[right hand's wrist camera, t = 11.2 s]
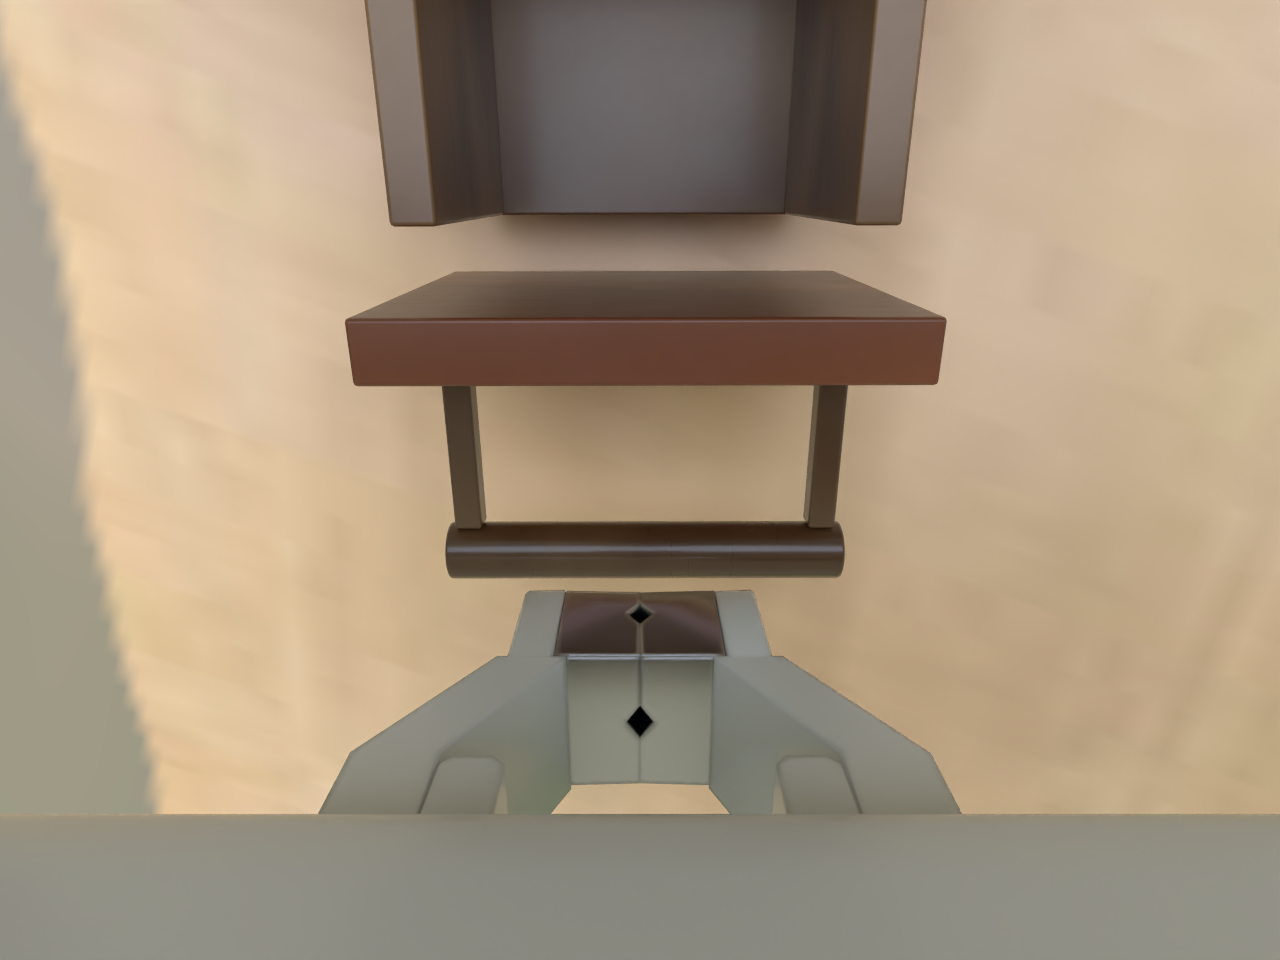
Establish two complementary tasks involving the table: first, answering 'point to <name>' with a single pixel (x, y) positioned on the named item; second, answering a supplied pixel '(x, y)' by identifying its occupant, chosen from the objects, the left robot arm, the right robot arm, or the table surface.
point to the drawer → (645, 185)
